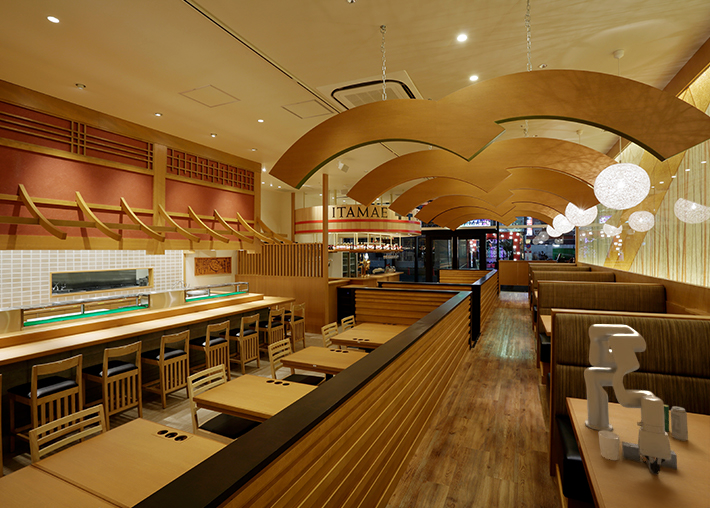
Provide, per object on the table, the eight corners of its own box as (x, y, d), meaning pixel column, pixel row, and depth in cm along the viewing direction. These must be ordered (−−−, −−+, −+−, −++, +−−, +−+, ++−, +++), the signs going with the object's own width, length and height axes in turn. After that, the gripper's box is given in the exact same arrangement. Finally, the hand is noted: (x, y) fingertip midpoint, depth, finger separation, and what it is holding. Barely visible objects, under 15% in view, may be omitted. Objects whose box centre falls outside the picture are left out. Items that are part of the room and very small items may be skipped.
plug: (641, 456, 164) (640, 447, 164) (653, 458, 162) (653, 449, 162) (647, 472, 151) (647, 463, 151) (661, 475, 149) (661, 465, 149)
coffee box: (670, 430, 188) (669, 405, 189) (669, 432, 186) (668, 406, 187) (650, 425, 194) (649, 401, 194) (649, 427, 192) (648, 402, 192)
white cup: (616, 453, 167) (615, 431, 167) (623, 462, 159) (622, 439, 160) (596, 451, 169) (596, 429, 170) (602, 459, 162) (601, 437, 162)
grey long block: (622, 454, 166) (621, 441, 166) (674, 464, 157) (673, 450, 157) (623, 458, 162) (623, 445, 162) (677, 469, 153) (676, 455, 153)
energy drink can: (691, 441, 176) (689, 411, 176) (677, 441, 177) (675, 410, 177) (682, 436, 182) (681, 406, 182) (669, 435, 183) (667, 405, 183)
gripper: (632, 427, 150) (634, 472, 149) (679, 434, 143) (681, 482, 142) (629, 420, 156) (631, 463, 156) (673, 427, 149) (676, 472, 148)
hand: (655, 472), depth 149 cm, fingers closed
